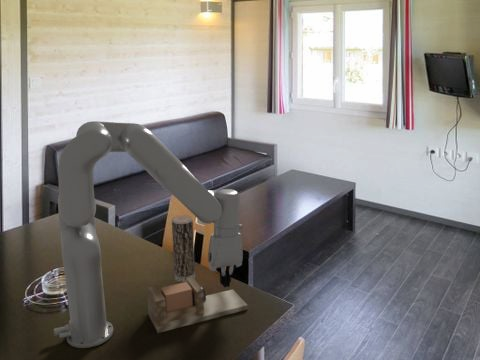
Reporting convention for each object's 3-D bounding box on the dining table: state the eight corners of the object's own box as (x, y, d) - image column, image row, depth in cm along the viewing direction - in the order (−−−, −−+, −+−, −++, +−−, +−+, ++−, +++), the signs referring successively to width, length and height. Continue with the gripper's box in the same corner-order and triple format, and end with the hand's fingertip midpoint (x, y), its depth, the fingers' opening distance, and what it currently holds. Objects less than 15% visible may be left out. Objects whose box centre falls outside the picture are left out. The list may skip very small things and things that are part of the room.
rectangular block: (167, 319, 133) (165, 295, 131) (162, 311, 138) (160, 287, 136) (192, 313, 137) (191, 289, 135) (187, 305, 141) (186, 282, 139)
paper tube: (185, 281, 159) (182, 214, 153) (199, 287, 155) (196, 218, 149) (171, 288, 154) (167, 219, 148) (185, 295, 150) (181, 224, 144)
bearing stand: (157, 333, 130) (155, 303, 127) (148, 314, 139) (146, 286, 137) (247, 309, 141) (247, 281, 139) (232, 293, 151) (232, 267, 148)
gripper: (243, 223, 144) (241, 276, 149) (198, 229, 138) (198, 284, 142) (253, 231, 138) (251, 286, 142) (207, 237, 131) (207, 295, 136)
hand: (225, 285), depth 142 cm, fingers closed
